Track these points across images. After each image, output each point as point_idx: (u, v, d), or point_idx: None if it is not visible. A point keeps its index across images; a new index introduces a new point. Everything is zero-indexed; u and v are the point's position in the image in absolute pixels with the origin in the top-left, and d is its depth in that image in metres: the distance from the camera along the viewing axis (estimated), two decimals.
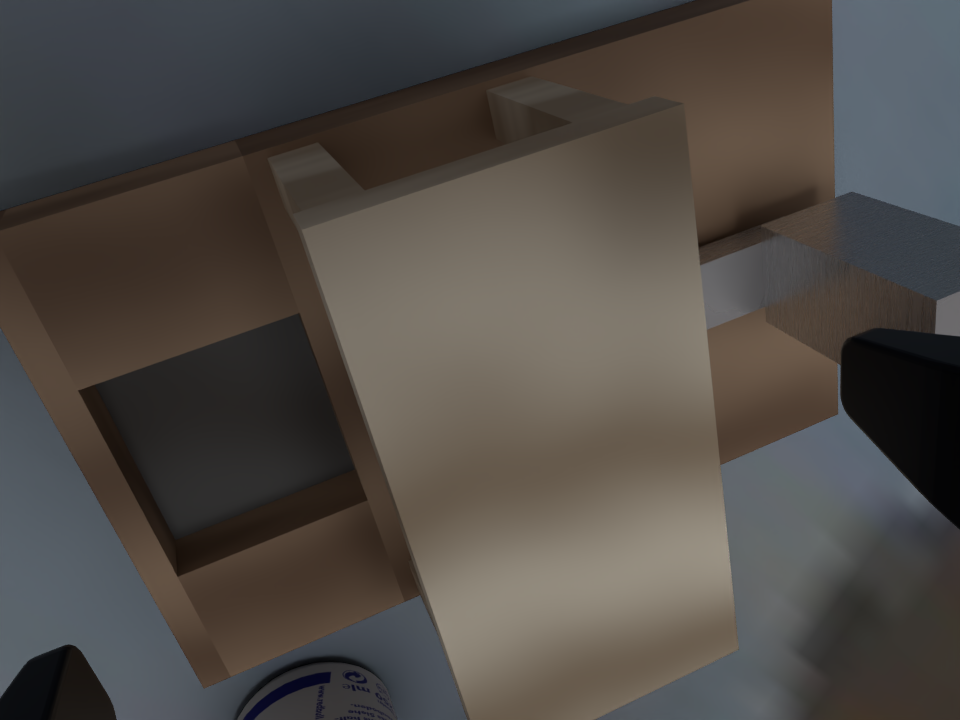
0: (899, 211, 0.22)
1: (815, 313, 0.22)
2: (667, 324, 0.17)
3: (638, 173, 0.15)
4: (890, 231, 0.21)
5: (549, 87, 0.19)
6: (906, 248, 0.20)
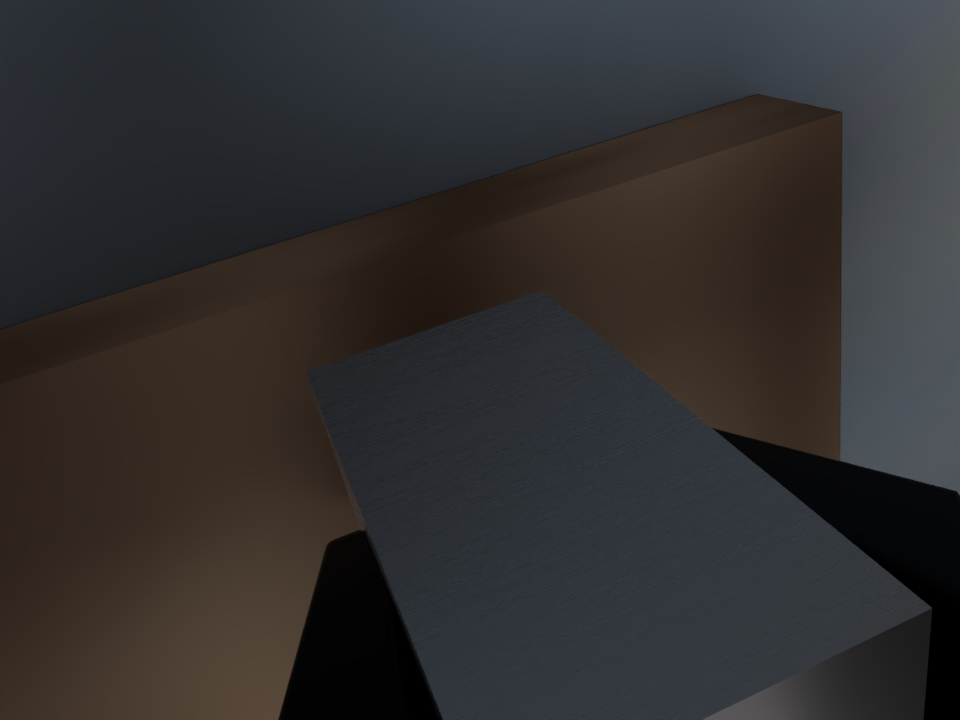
0: (344, 474, 0.08)
1: None
2: None
3: None
4: None
5: None
6: (430, 706, 0.07)
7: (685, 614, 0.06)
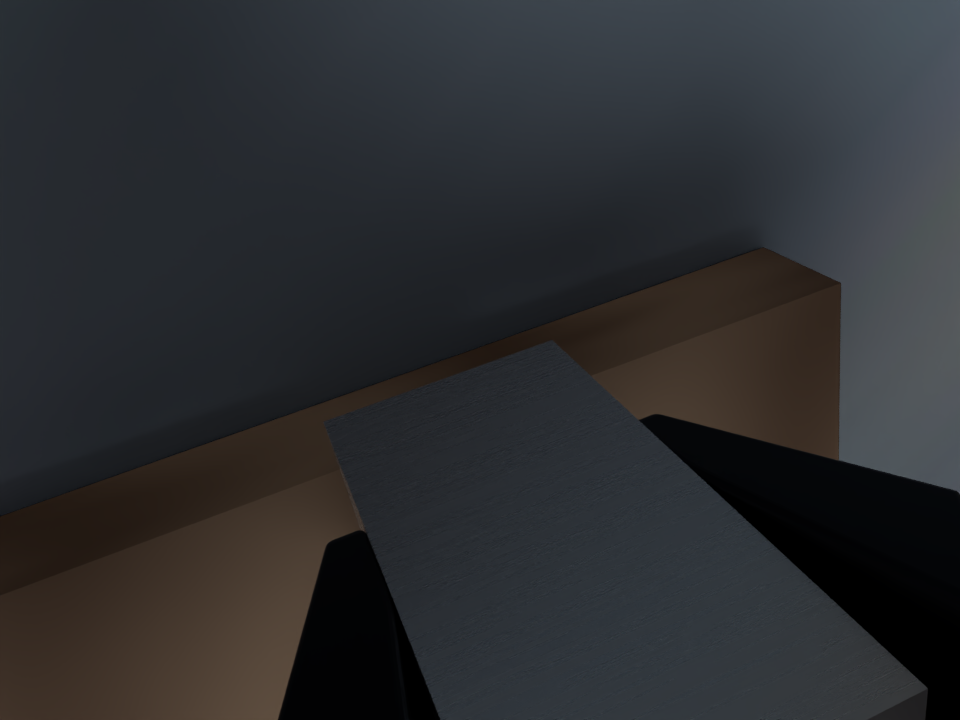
0: (364, 530, 0.08)
1: None
2: None
3: None
4: None
5: None
6: None
7: (696, 690, 0.06)
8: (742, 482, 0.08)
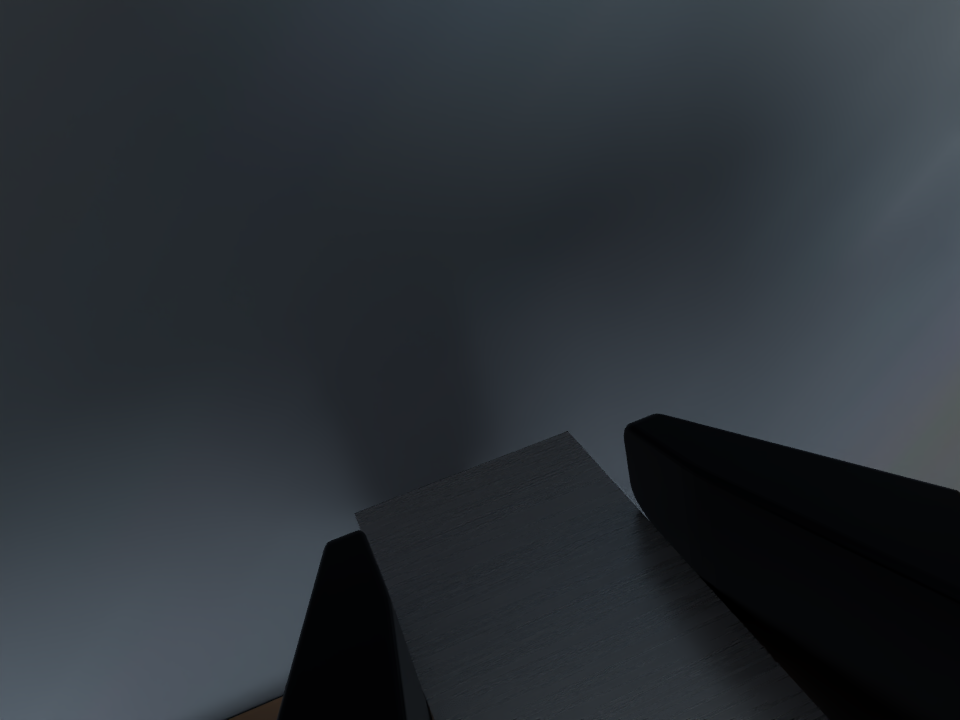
0: None
1: None
2: None
3: None
4: None
5: None
6: None
7: None
8: (743, 482, 0.08)
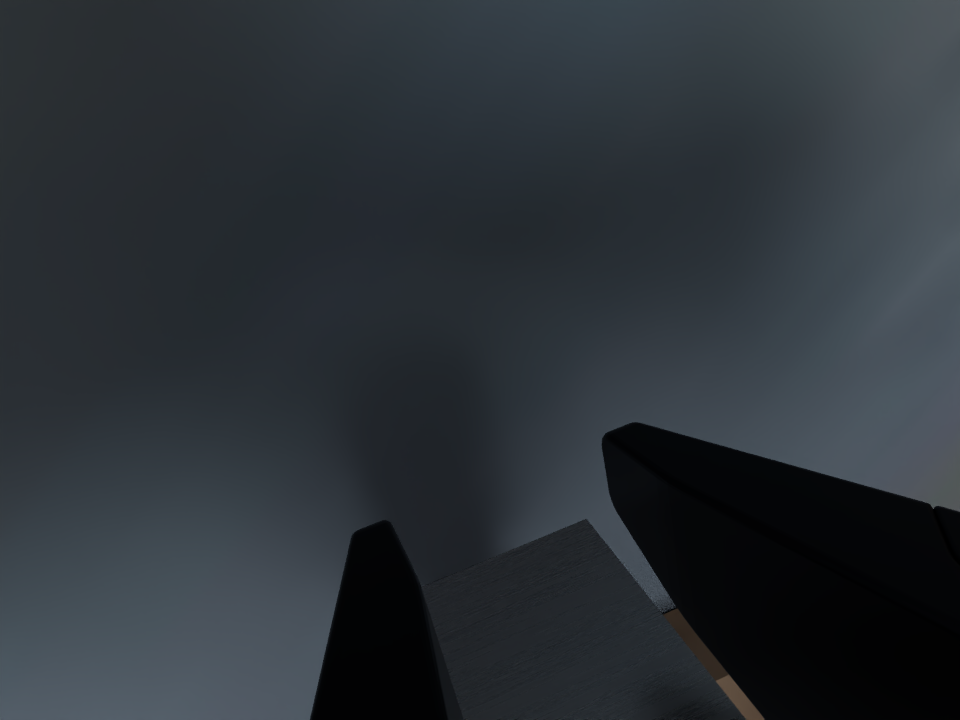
0: None
1: None
2: None
3: None
4: None
5: None
6: None
7: None
8: (716, 493, 0.07)
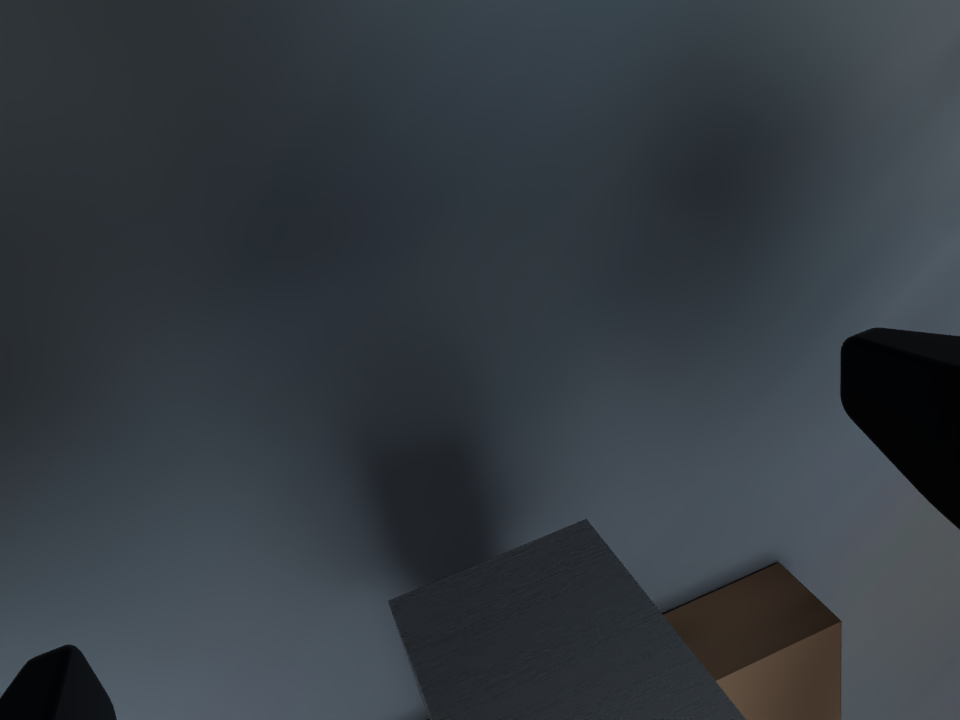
0: None
1: None
2: None
3: None
4: None
5: None
6: None
7: None
8: None
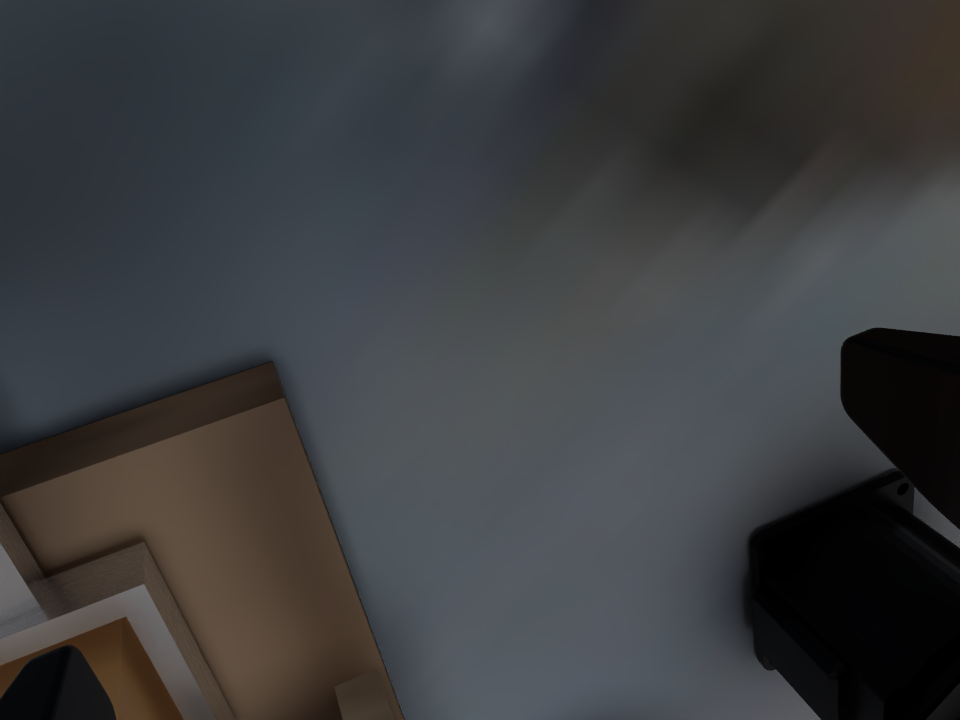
0: None
1: None
2: None
3: None
4: None
5: None
6: None
7: None
8: None
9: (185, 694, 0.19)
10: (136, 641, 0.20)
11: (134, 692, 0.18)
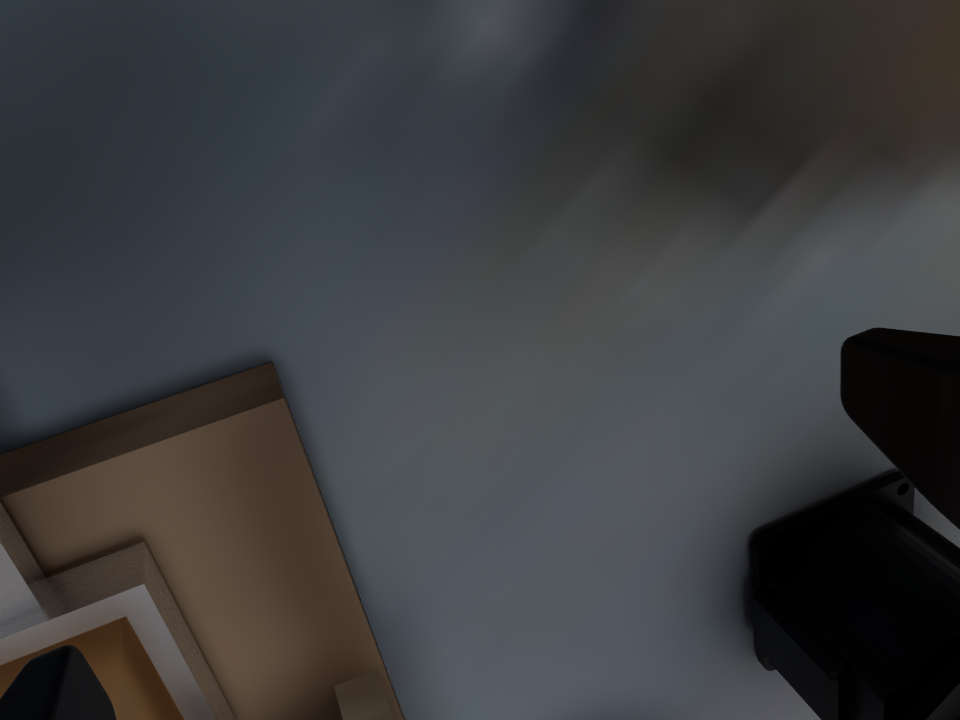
0: None
1: None
2: None
3: None
4: None
5: None
6: None
7: None
8: None
9: (185, 694, 0.19)
10: (136, 641, 0.20)
11: (134, 692, 0.18)
